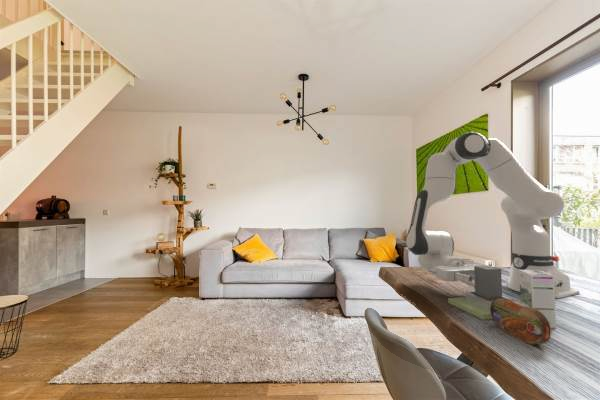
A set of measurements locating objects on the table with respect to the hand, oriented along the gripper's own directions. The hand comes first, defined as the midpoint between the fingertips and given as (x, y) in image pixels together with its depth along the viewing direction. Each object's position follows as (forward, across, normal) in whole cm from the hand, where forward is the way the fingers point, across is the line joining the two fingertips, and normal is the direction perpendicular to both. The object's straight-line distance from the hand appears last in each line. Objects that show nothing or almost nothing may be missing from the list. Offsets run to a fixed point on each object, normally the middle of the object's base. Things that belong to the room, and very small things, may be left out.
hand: (482, 278), depth 87 cm
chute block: (+2, 0, +8) cm, 8 cm away
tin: (+18, -7, +10) cm, 21 cm away
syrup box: (+13, +5, +10) cm, 17 cm away
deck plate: (+1, 0, +10) cm, 10 cm away
